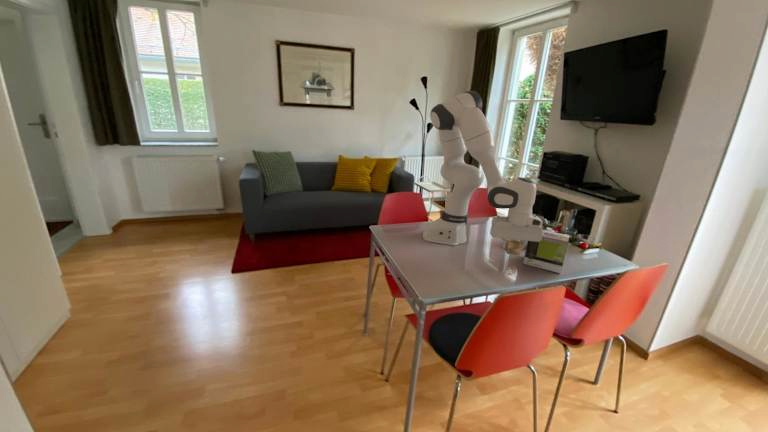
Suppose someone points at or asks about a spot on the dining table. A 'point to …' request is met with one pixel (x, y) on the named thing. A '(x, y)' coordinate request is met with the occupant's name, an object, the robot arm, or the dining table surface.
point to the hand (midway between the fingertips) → (512, 248)
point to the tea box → (547, 251)
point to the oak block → (513, 247)
